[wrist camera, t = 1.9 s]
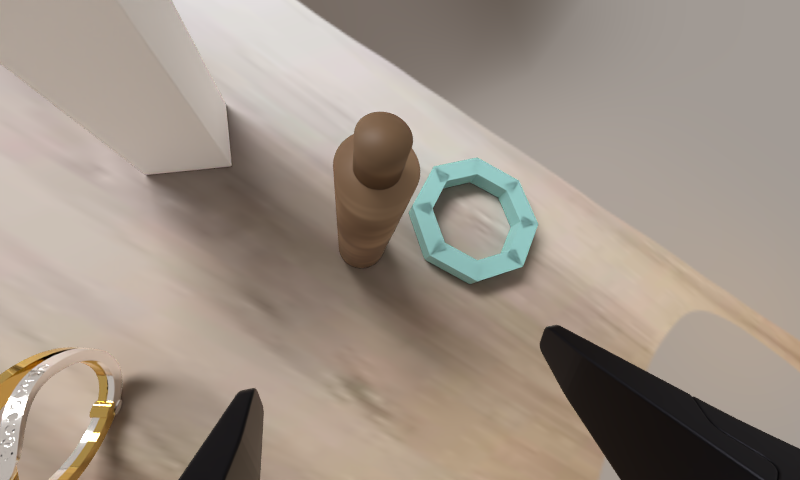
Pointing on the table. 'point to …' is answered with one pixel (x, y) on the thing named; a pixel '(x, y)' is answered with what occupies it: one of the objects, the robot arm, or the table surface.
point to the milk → (121, 77)
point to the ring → (23, 384)
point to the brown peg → (373, 185)
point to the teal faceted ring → (511, 203)
